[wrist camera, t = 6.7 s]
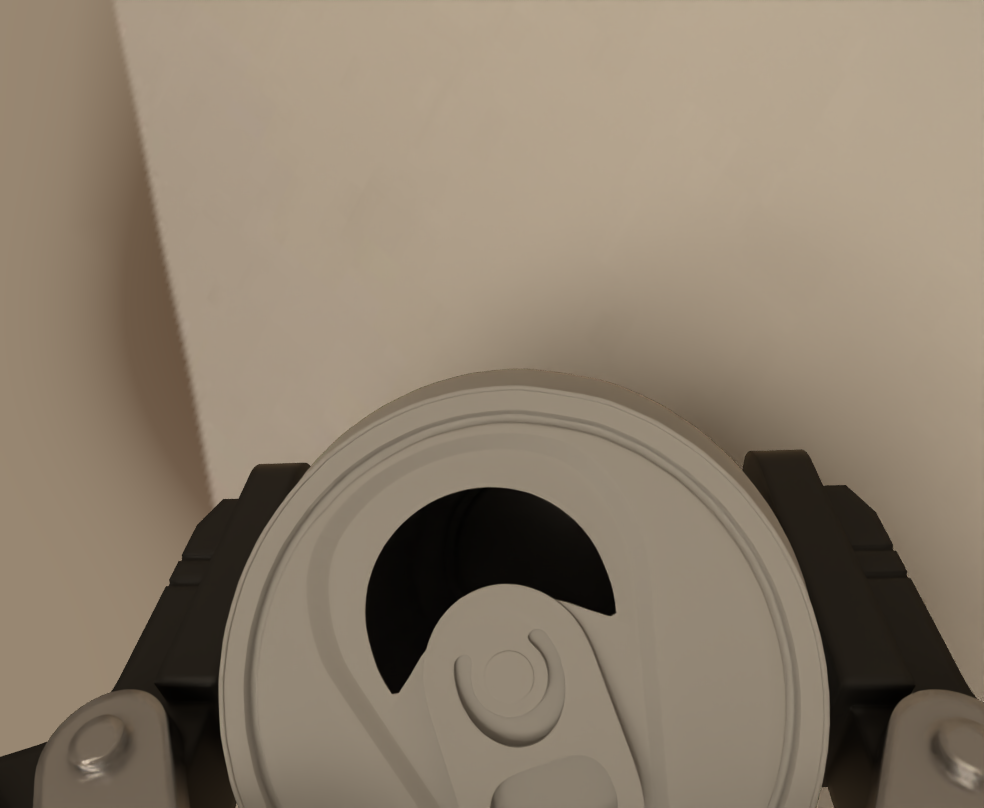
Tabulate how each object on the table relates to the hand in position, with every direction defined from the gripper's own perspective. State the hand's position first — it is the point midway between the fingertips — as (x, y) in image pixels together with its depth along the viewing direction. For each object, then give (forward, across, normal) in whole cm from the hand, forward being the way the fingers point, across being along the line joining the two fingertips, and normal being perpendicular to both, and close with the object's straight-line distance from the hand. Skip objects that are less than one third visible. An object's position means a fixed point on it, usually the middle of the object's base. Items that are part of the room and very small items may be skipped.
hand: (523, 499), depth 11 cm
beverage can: (+5, 0, +7) cm, 8 cm away
